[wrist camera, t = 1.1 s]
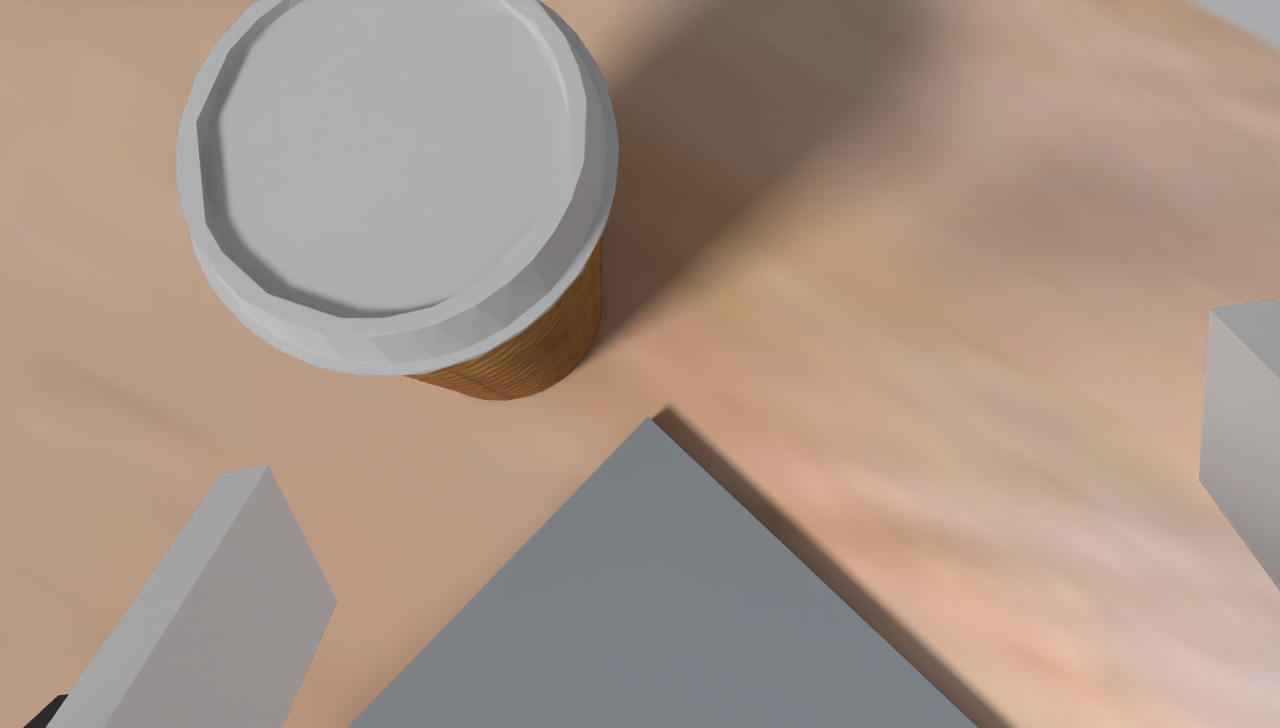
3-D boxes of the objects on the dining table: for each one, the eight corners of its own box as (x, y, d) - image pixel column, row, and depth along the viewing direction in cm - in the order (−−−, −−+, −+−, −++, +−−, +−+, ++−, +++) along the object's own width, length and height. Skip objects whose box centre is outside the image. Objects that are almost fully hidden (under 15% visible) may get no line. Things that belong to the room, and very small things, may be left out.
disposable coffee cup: (423, 135, 33) (262, -115, 22) (692, 212, 32) (675, -11, 20) (314, 399, 31) (75, 281, 20) (594, 493, 30) (514, 425, 18)
